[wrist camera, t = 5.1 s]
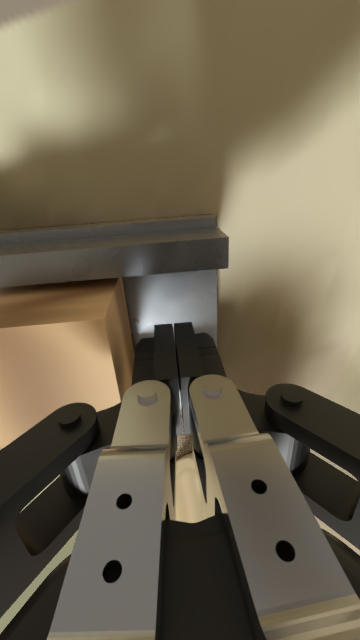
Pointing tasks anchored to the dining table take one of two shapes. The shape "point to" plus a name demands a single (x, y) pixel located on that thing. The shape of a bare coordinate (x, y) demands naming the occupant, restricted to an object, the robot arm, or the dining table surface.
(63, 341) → the oak block
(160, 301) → the chute
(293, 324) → the dining table surface
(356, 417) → the robot arm
